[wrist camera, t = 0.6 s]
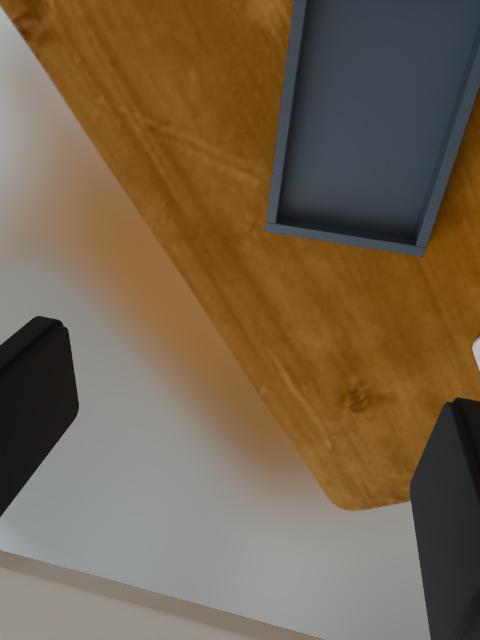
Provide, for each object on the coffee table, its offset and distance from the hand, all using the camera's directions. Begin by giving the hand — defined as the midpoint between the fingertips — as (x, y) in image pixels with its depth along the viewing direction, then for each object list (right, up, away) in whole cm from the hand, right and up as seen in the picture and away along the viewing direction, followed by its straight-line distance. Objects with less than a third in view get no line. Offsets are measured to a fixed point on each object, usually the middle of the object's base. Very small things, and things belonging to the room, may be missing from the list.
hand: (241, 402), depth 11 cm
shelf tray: (+9, +17, +22) cm, 29 cm away
